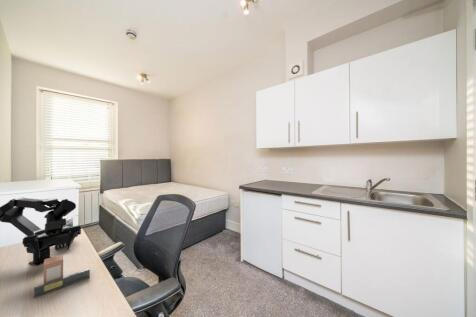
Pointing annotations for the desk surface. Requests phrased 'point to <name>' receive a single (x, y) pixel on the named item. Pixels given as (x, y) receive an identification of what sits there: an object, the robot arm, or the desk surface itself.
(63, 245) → the battery charger
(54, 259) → the carton
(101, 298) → the desk surface
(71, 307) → the desk surface
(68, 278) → the rail
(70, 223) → the syrup box
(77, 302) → the desk surface
